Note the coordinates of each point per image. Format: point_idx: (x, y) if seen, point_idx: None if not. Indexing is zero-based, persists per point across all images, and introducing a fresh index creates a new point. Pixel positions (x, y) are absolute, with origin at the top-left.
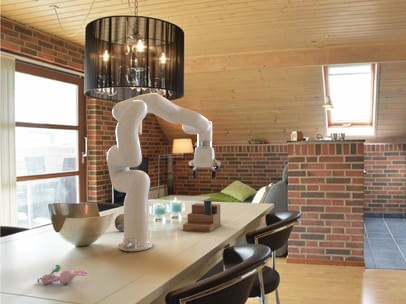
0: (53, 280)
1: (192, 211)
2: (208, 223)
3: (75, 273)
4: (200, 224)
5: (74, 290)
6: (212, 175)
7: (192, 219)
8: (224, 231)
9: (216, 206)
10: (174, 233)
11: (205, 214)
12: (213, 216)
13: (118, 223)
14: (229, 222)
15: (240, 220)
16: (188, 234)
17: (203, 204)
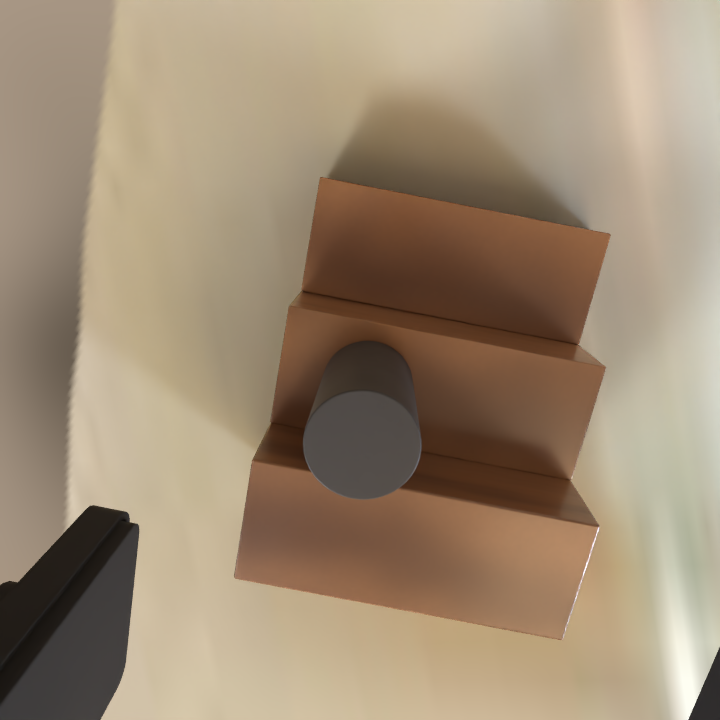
0: None
1: (565, 484)
2: (351, 293)
3: None
4: (425, 241)
5: None
6: (59, 576)
7: (531, 342)
8: (193, 213)
9: (259, 456)
10: (656, 109)
11: (387, 345)
12: (290, 308)
13: None
14: (216, 562)
15: (135, 636)
16: (511, 74)
17: (446, 552)
